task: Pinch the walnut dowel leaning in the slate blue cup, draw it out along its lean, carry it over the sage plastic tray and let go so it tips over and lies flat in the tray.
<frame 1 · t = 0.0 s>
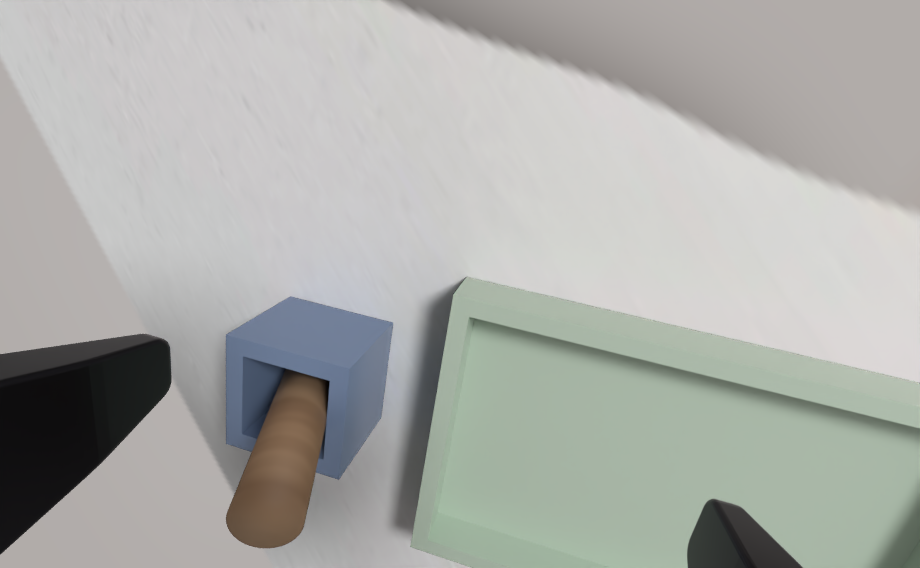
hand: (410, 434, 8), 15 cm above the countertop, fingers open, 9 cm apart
slate blue cup: (336, 358, 26), on the countertop
sage tray: (666, 467, 23), on the countertop
walnut dowel: (296, 422, 20), point 6 cm above the countertop, touching slate blue cup
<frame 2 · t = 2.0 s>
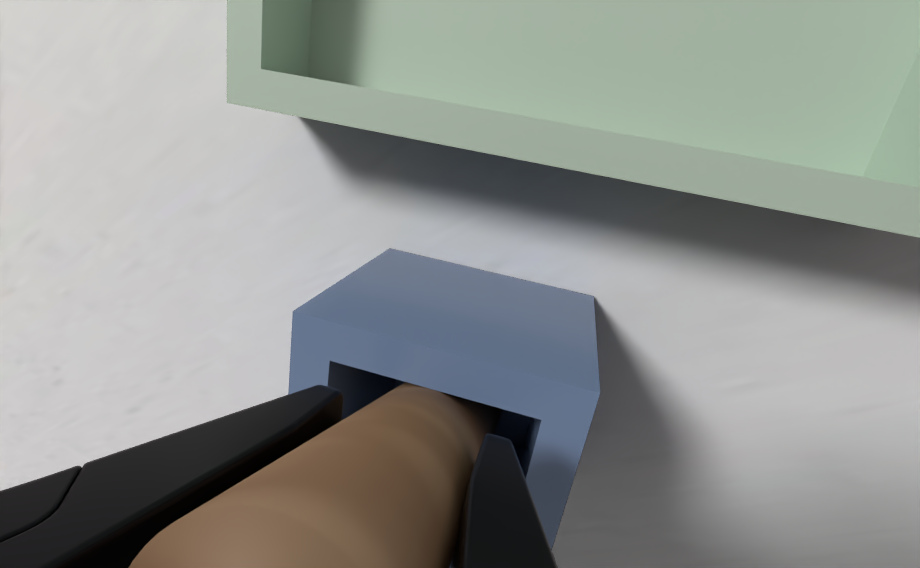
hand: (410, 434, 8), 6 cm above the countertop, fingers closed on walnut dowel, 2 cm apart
slate blue cup: (470, 362, 14), on the countertop
walnut dowel: (413, 457, 9), point 6 cm above the countertop, touching gripper, slate blue cup
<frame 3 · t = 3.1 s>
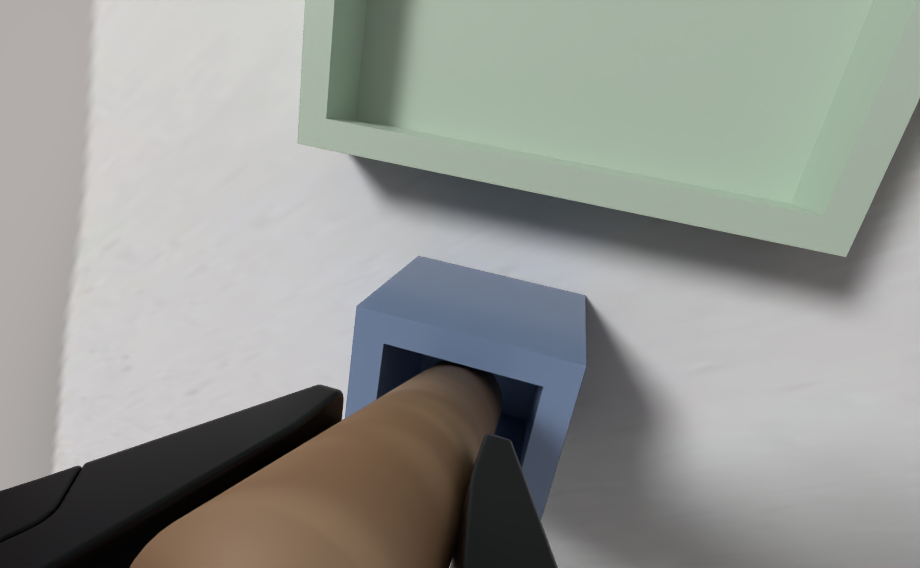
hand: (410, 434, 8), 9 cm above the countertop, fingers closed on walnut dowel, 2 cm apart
slate blue cup: (483, 350, 17), on the countertop
walnut dowel: (413, 457, 9), point 8 cm above the countertop, touching gripper
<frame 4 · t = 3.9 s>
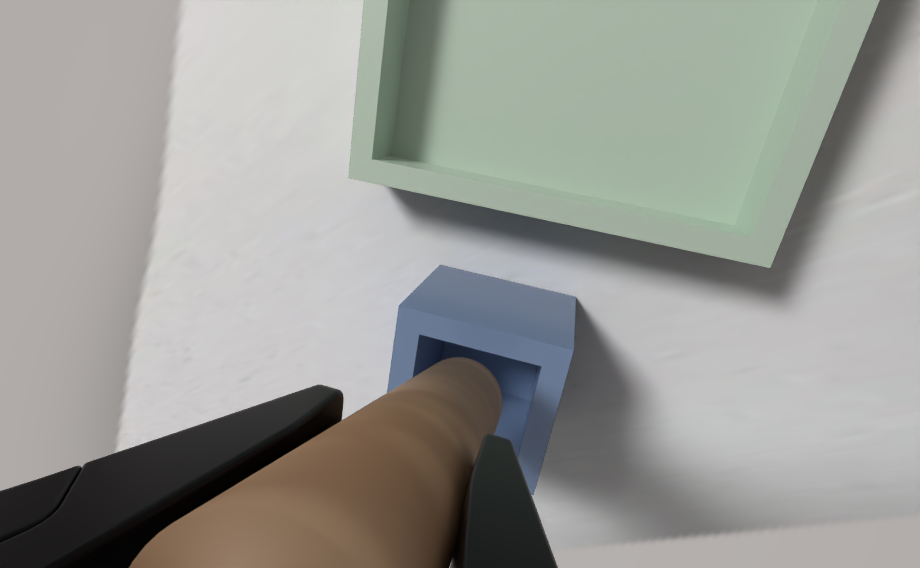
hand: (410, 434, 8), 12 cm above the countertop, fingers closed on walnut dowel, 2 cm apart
slate blue cup: (493, 342, 21), on the countertop
walnut dowel: (413, 457, 9), point 12 cm above the countertop, touching gripper
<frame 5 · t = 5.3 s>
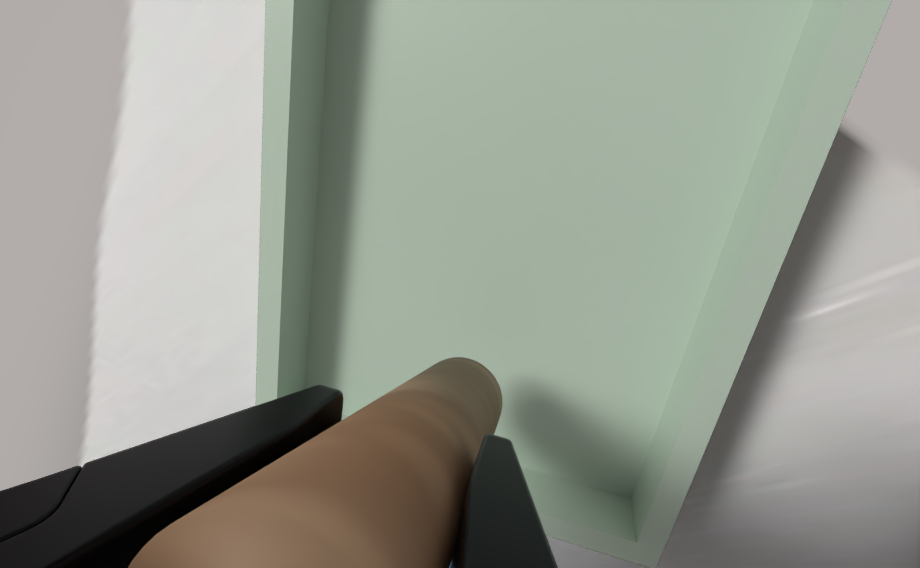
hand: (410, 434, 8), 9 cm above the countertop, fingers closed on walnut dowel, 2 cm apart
sage tray: (517, 165, 15), on the countertop
walnut dowel: (412, 458, 9), point 9 cm above the countertop, touching gripper
when the fingers open (7 cm above the countertop, at t = 5.9 s): walnut dowel drops 4 cm and tips over, resting on sage tray.
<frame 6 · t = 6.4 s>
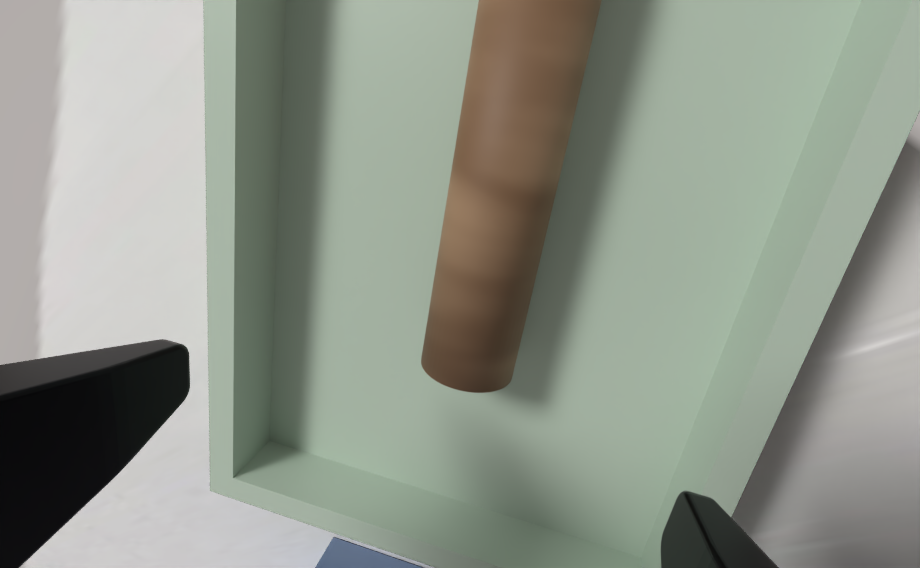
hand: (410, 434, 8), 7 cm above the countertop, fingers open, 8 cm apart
sage tray: (509, 174, 13), on the countertop
walnut dowel: (505, 173, 11), point 2 cm above the countertop, tilted 70°, touching sage tray
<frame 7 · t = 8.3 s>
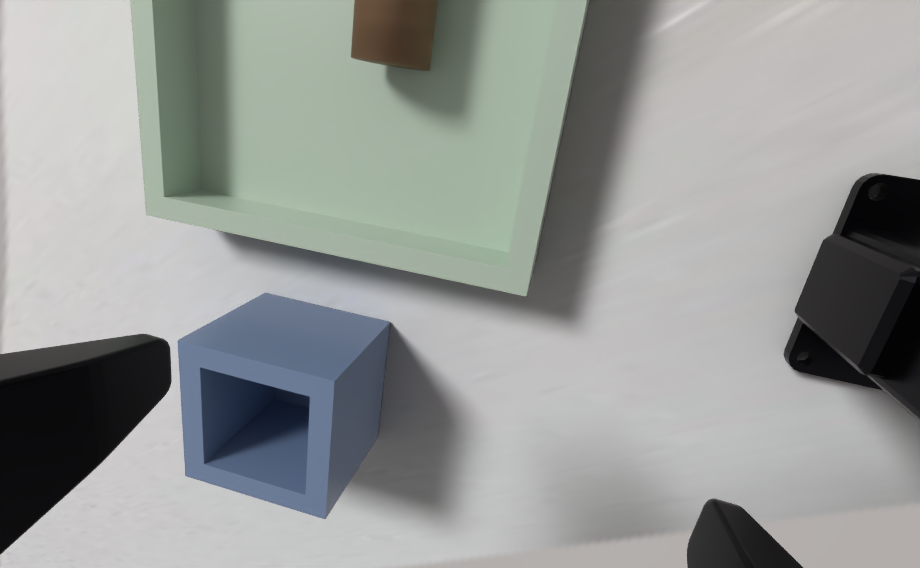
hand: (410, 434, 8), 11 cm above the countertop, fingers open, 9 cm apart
slate blue cup: (322, 366, 21), on the countertop
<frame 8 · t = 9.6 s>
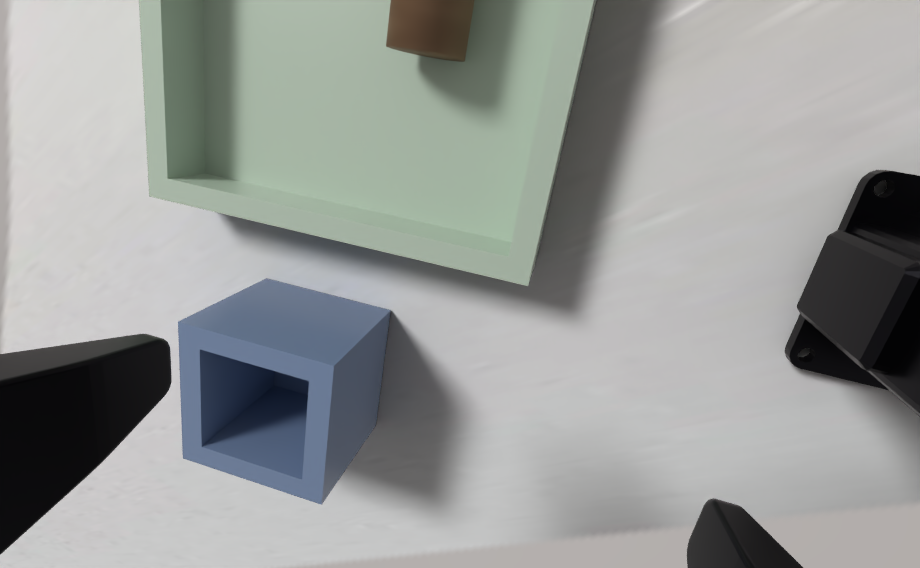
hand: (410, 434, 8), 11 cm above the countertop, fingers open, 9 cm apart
slate blue cup: (322, 353, 21), on the countertop
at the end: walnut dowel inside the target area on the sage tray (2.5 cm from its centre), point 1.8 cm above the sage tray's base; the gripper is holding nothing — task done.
